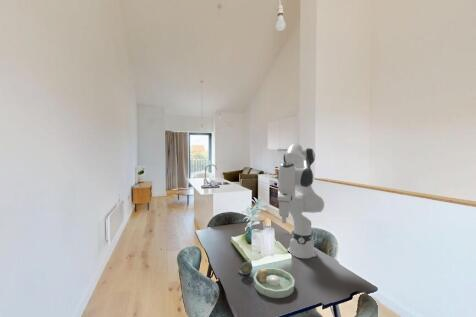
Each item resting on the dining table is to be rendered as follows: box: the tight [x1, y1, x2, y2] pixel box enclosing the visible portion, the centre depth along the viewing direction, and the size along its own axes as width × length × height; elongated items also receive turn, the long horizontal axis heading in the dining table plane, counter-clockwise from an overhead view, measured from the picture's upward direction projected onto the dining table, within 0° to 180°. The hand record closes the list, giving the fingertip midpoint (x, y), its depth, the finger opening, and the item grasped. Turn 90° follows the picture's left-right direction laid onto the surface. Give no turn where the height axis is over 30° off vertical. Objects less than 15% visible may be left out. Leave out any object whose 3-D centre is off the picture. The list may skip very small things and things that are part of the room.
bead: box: [257, 268, 267, 283], centre depth 118 cm, size 4×4×5 cm
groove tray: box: [252, 267, 296, 299], centre depth 116 cm, size 20×20×4 cm
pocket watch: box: [237, 257, 253, 276], centre depth 126 cm, size 8×8×10 cm
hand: (285, 219), depth 121 cm, fingers open, 8 cm apart
